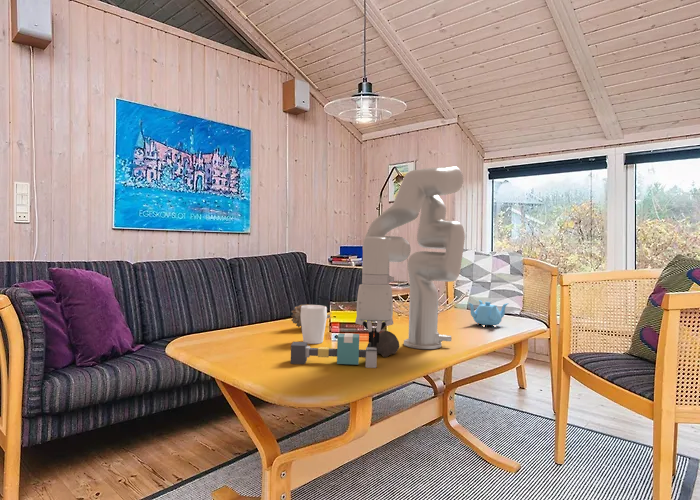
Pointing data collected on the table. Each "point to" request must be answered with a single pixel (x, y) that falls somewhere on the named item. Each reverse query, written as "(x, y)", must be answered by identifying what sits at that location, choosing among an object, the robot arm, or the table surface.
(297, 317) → the pine cone
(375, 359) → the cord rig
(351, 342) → the sleeve
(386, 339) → the stone
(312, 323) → the cup
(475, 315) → the teapot
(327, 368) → the table surface
